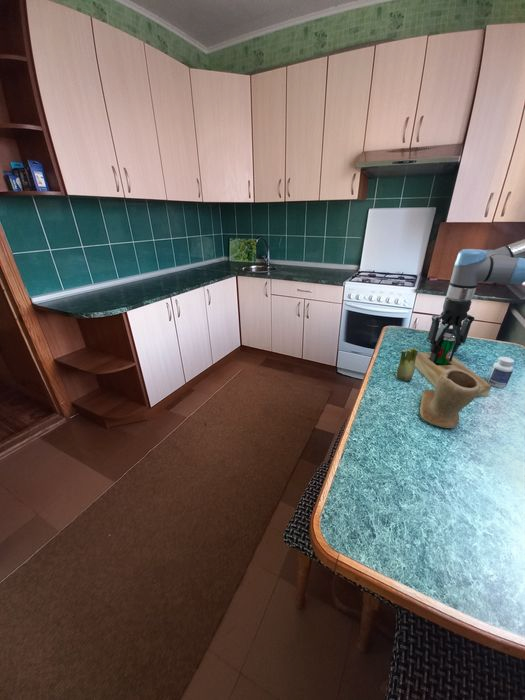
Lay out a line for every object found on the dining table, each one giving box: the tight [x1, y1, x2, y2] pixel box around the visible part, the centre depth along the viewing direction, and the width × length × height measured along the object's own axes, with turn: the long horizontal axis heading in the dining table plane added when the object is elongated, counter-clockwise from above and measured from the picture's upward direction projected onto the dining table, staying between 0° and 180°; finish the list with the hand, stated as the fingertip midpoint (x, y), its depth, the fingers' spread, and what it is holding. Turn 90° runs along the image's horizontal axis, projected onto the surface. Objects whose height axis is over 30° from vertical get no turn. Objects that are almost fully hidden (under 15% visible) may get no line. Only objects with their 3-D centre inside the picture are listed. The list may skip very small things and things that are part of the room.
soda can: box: [432, 333, 456, 365], centre depth 104 cm, size 5×5×12 cm
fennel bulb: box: [396, 347, 419, 382], centre depth 101 cm, size 6×5×12 cm
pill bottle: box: [486, 356, 515, 389], centre depth 98 cm, size 5×5×10 cm
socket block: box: [415, 352, 492, 398], centre depth 103 cm, size 14×24×4 cm, turn 2°
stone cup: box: [419, 369, 480, 429], centre depth 83 cm, size 15×12×15 cm
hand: (440, 359), depth 106 cm, fingers closed on soda can, 5 cm apart
